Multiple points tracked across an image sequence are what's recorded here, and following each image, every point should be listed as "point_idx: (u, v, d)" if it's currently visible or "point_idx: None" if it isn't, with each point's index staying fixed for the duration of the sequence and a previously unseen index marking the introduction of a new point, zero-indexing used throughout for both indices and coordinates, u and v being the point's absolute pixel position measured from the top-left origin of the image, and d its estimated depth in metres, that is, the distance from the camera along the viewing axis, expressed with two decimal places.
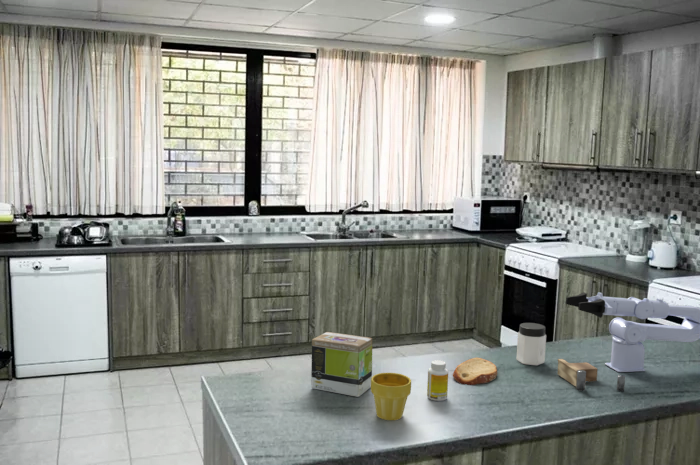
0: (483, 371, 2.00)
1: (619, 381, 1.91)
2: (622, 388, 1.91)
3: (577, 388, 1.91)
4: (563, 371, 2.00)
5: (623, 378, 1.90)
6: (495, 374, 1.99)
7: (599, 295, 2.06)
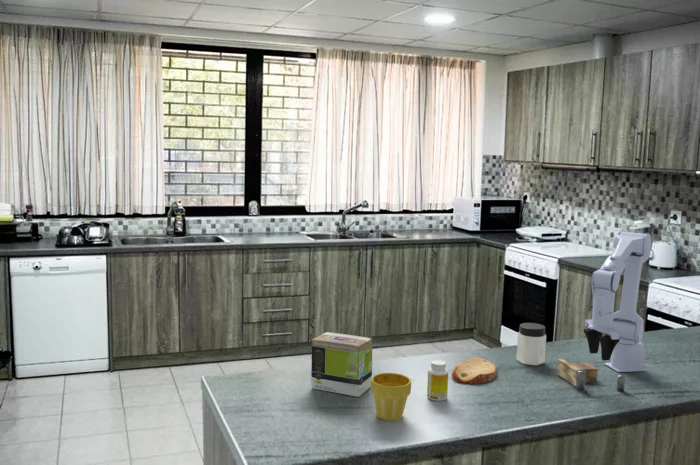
0: (482, 371, 2.00)
1: (619, 381, 1.91)
2: (622, 388, 1.91)
3: (577, 388, 1.91)
4: (563, 371, 2.00)
5: (623, 378, 1.90)
6: (494, 374, 2.00)
7: (592, 328, 1.90)
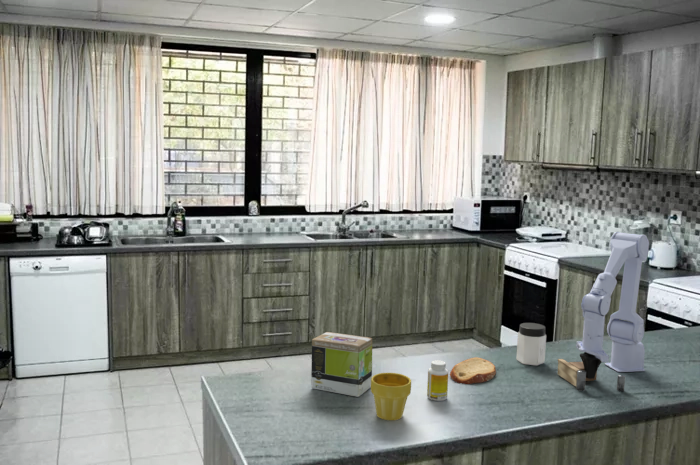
0: (481, 371, 2.00)
1: (619, 381, 1.91)
2: (622, 388, 1.91)
3: (577, 388, 1.91)
4: (563, 371, 2.00)
5: (623, 378, 1.90)
6: (492, 374, 2.00)
7: None
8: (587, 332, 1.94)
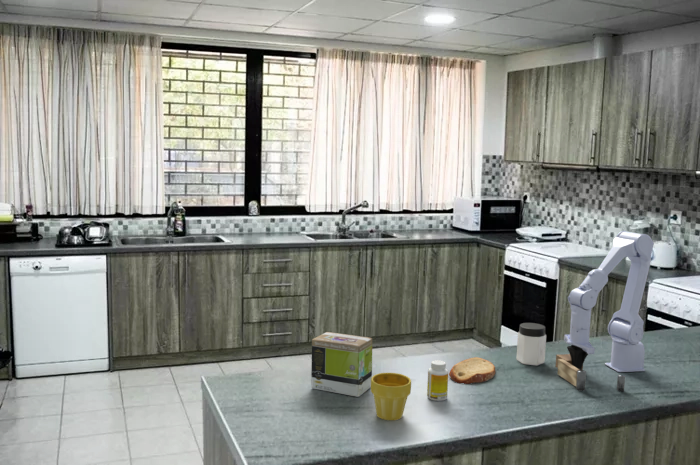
0: (480, 370, 2.00)
1: (619, 381, 1.91)
2: (622, 388, 1.91)
3: (577, 388, 1.91)
4: (563, 371, 2.00)
5: (623, 378, 1.90)
6: (492, 374, 2.00)
7: (570, 343, 2.03)
8: (572, 324, 2.02)
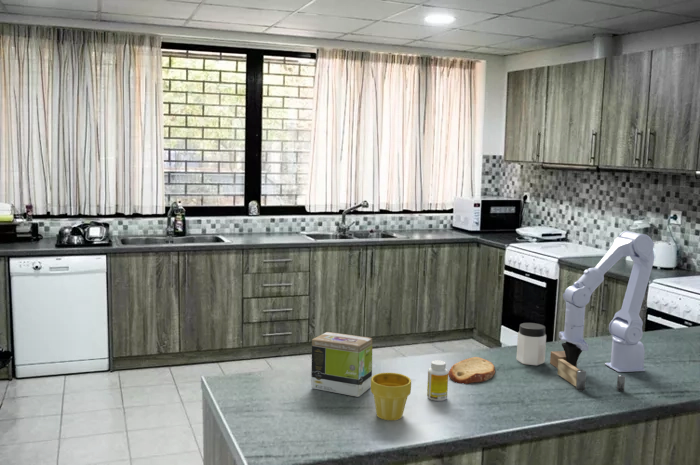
0: (479, 370, 2.00)
1: (619, 381, 1.91)
2: (622, 388, 1.91)
3: (577, 388, 1.91)
4: (563, 371, 2.00)
5: (623, 378, 1.90)
6: (491, 374, 2.00)
7: (564, 340, 2.06)
8: (565, 321, 2.06)
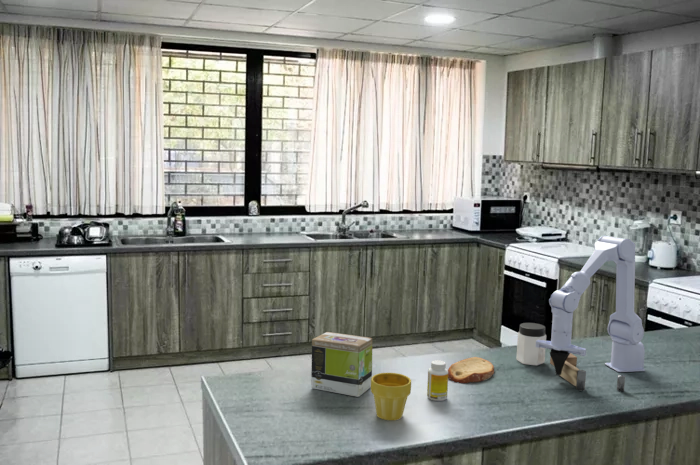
0: (478, 370, 2.01)
1: (619, 381, 1.91)
2: (622, 388, 1.91)
3: (577, 388, 1.91)
4: (563, 371, 2.00)
5: (623, 378, 1.90)
6: (490, 374, 2.00)
7: (558, 349, 1.94)
8: (553, 328, 1.96)
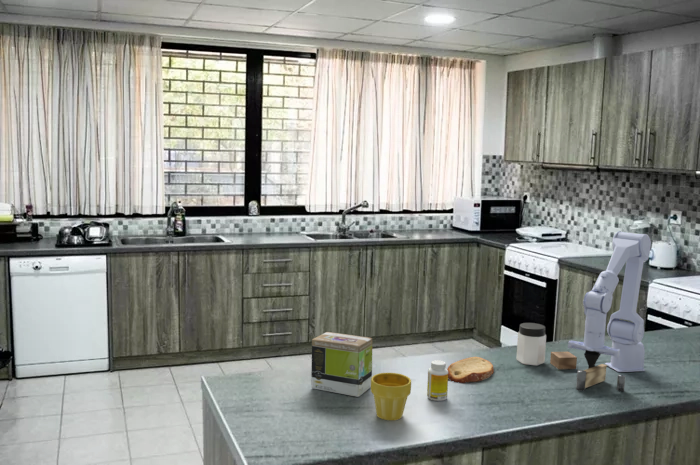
0: (477, 370, 2.01)
1: (619, 381, 1.91)
2: (622, 388, 1.91)
3: (577, 388, 1.91)
4: None
5: (623, 378, 1.90)
6: (489, 373, 2.00)
7: (591, 350, 1.94)
8: (589, 329, 1.94)
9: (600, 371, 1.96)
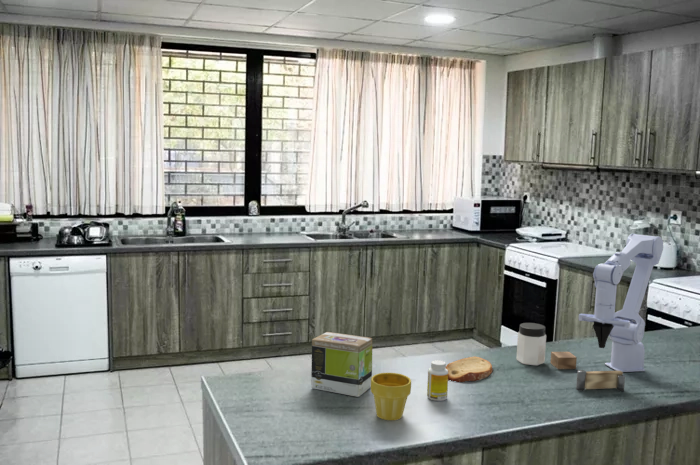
0: (475, 370, 2.01)
1: (619, 381, 1.91)
2: (622, 388, 1.91)
3: (577, 388, 1.91)
4: None
5: (623, 378, 1.90)
6: (486, 373, 2.00)
7: None
8: (599, 301, 1.97)
9: (612, 376, 1.92)
